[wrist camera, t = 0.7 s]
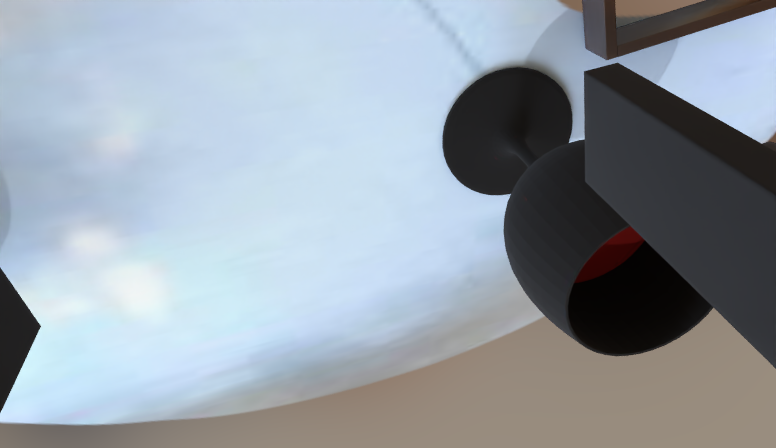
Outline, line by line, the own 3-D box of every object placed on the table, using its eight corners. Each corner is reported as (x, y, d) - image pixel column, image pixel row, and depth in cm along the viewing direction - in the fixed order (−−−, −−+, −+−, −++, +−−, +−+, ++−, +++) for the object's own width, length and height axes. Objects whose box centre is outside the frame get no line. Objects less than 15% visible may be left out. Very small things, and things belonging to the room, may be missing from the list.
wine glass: (597, 117, 46) (789, 259, 29) (507, 215, 50) (634, 394, 33) (506, 37, 42) (670, 151, 25) (414, 151, 45) (504, 320, 28)
